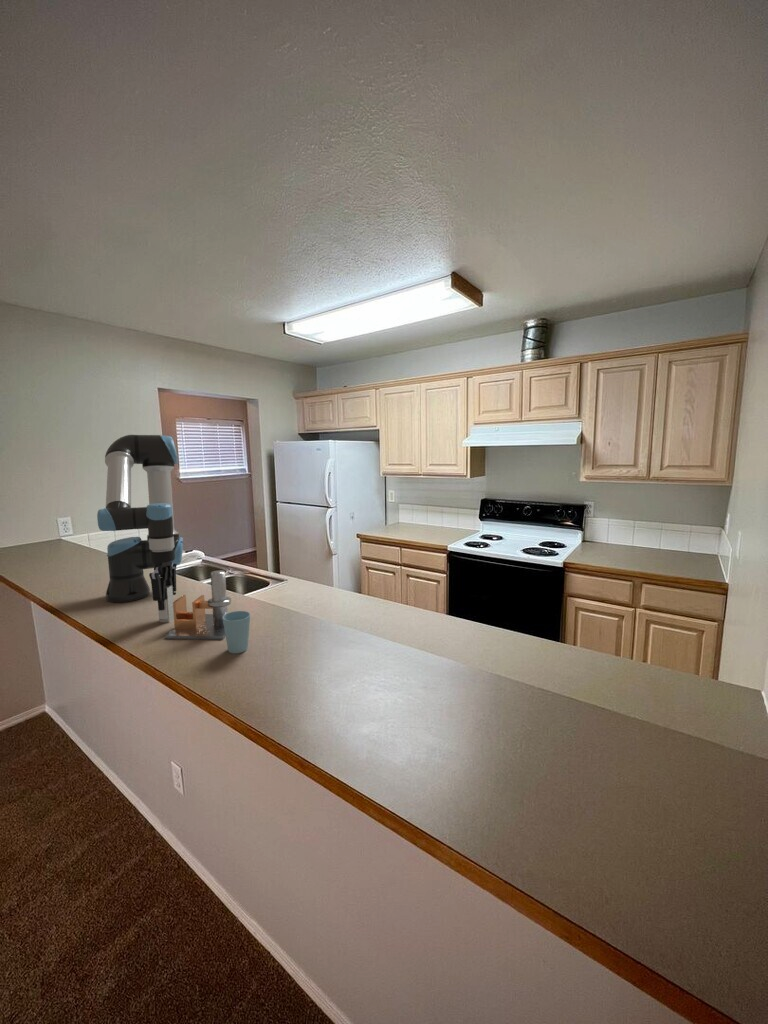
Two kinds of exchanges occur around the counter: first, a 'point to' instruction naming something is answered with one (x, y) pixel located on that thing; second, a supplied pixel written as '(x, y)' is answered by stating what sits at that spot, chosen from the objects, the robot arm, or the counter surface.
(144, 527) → the robot arm
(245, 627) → the cup
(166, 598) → the light grey block
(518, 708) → the counter surface
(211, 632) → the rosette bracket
